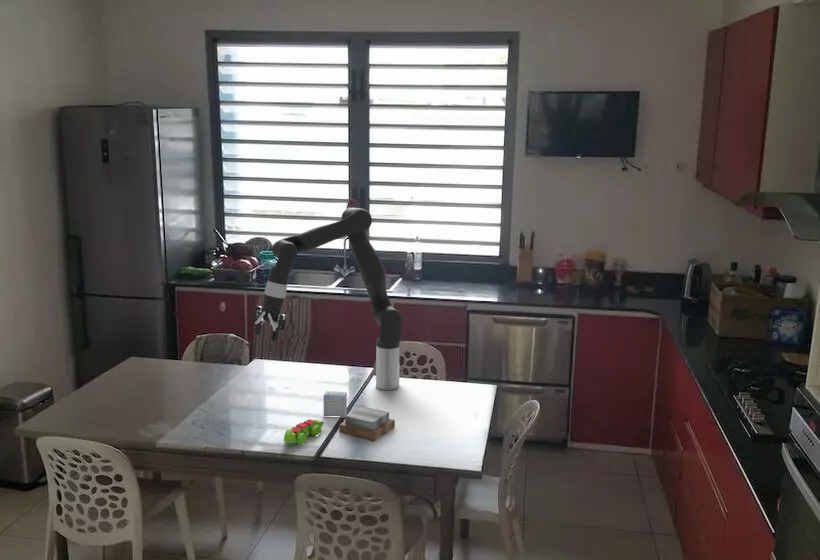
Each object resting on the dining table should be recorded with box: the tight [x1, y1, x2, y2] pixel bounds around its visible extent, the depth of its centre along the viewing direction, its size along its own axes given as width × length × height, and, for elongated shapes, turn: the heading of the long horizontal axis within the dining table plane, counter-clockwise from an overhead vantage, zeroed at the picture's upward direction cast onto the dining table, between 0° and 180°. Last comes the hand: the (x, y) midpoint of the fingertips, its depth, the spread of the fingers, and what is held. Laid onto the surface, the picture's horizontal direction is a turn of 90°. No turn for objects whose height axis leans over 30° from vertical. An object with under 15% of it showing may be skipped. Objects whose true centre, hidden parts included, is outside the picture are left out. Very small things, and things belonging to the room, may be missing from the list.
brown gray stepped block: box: [338, 405, 396, 442], centre depth 268 cm, size 14×14×6 cm
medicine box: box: [323, 390, 348, 419], centre depth 280 cm, size 8×4×9 cm, turn 84°
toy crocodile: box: [283, 418, 325, 445], centre depth 261 cm, size 20×7×6 cm, turn 150°
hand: (265, 337), depth 281 cm, fingers open, 8 cm apart
